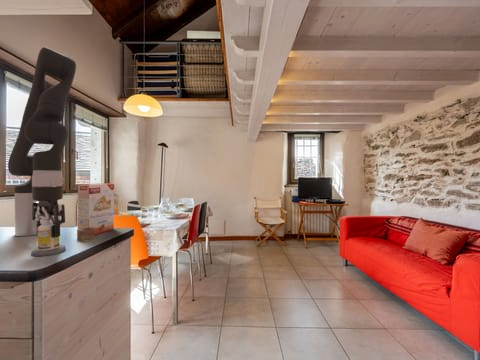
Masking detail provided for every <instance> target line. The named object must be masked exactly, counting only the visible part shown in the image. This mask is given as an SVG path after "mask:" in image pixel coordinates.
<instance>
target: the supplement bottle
mask: <svg viewBox="0 0 480 360" xmlns="http://www.w3.org/2000/svg"><path fill="white" fill-rule="evenodd" d="M53 220H54V219H53ZM40 224H41V226H39V227H38V234H37V248H38V250H40V251H48V250H53V249H56V248H58V247H59V245H61V244H60V236H59V237H55V238H52V237H51V226H52V225H51V223H50V221H49V220H47V218H42V219H40Z"/></svg>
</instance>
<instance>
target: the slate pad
mask: <svg viewBox="0 0 480 360" xmlns="http://www.w3.org/2000/svg"><path fill="white" fill-rule="evenodd" d="M65 251H66V245H64V244H60V245H59V247H58V248H56V249H53V250H48V251H40V250H38V247H37V248H33V249H32V250H31V252H30V254H31V255H30V256H32V257H37V258H38V257H47V256H53V255H57V254H60V253H63V252H65Z"/></svg>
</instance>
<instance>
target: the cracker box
mask: <svg viewBox="0 0 480 360" xmlns="http://www.w3.org/2000/svg"><path fill="white" fill-rule="evenodd" d="M114 223H115V184H114V183H89V184H88V183H86V184H85V183H84V184H78V185H77V230H80V229H85V228H92V229H94V236H95V235H98V234H100V233H101V234H102V233H105V232H108V231H112V230H114V227H115V226H114V225H115V224H114Z"/></svg>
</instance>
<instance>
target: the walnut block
mask: <svg viewBox="0 0 480 360" xmlns="http://www.w3.org/2000/svg"><path fill="white" fill-rule="evenodd" d="M76 240H77V241H78V240H79V242H82V243H85V242H87V241H92V240H95V235H94V229H92V228H85V229H80V230H78V229H77V230H76Z"/></svg>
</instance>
